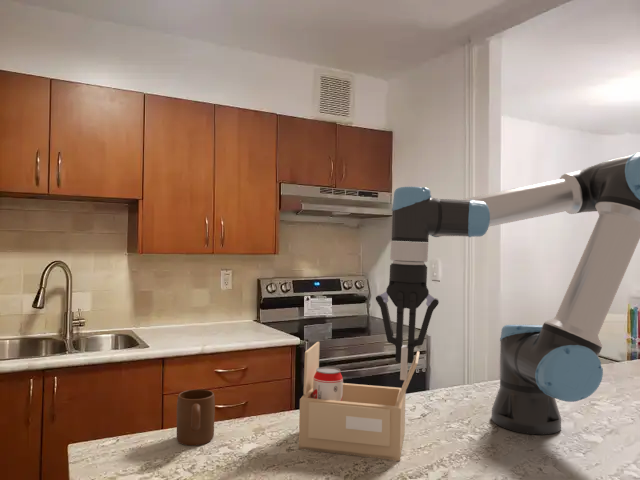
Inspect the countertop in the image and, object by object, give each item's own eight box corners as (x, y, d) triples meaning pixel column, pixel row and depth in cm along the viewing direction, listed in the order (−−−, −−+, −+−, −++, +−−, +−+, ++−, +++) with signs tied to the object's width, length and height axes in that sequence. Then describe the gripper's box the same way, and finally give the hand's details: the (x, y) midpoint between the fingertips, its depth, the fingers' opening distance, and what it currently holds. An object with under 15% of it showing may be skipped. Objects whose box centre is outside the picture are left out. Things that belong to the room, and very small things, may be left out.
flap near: (401, 386, 111) (404, 387, 110) (397, 402, 100) (400, 403, 100) (417, 350, 110) (419, 351, 110) (415, 362, 99) (417, 363, 99)
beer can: (343, 442, 110) (345, 367, 110) (338, 454, 103) (340, 374, 104) (314, 439, 111) (316, 365, 111) (307, 450, 105) (310, 372, 105)
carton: (404, 433, 112) (405, 387, 112) (399, 462, 98) (400, 409, 98) (315, 424, 117) (316, 380, 117) (298, 450, 102) (299, 400, 102)
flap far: (305, 394, 104) (303, 393, 104) (318, 379, 115) (316, 379, 115) (307, 352, 104) (304, 351, 104) (319, 341, 115) (317, 341, 115)
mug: (215, 454, 100) (216, 405, 100) (174, 457, 98) (175, 407, 98) (213, 431, 111) (214, 388, 111) (177, 433, 110) (177, 389, 110)
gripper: (440, 263, 107) (435, 376, 107) (379, 260, 110) (374, 370, 110) (440, 265, 100) (435, 386, 100) (375, 262, 103) (370, 379, 103)
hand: (403, 378), depth 105 cm, fingers closed
